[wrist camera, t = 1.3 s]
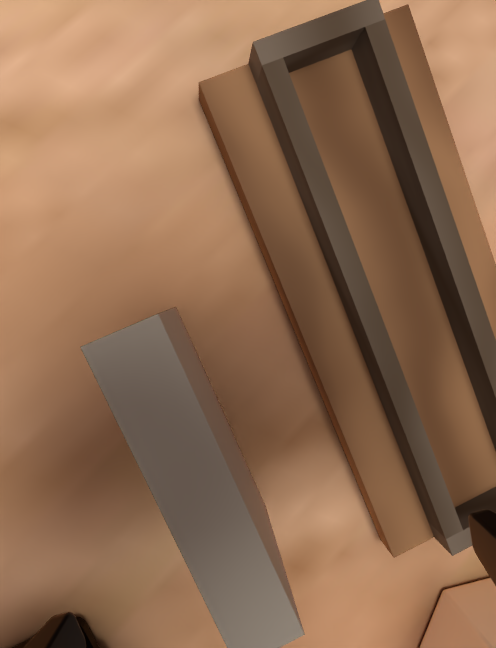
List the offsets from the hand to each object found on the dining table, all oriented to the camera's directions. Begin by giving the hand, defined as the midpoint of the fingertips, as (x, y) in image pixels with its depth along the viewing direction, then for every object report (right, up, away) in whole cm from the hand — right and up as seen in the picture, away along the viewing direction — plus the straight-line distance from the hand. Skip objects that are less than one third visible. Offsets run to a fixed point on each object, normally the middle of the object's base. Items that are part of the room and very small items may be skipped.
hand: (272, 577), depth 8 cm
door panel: (-3, 0, +12) cm, 12 cm away
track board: (+7, +7, +12) cm, 16 cm away
